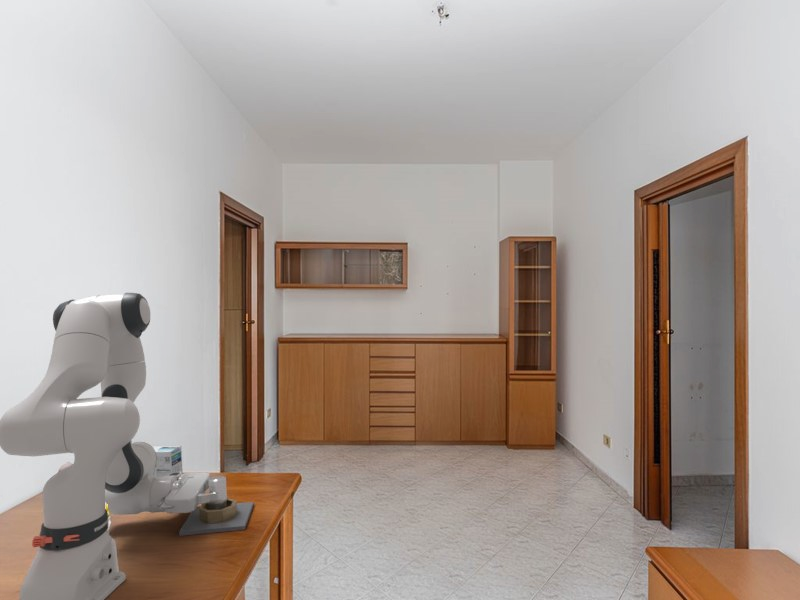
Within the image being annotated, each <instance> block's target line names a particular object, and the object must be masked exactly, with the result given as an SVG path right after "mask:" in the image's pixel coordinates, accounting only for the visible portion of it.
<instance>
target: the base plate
mask: <svg viewBox="0 0 800 600" xmlns="http://www.w3.org/2000/svg"><path fill="white" fill-rule="evenodd" d="M254 506H255V505H254V501H247V502H237V513H236V515H235V517H234V518H232V519H229V520H227V521H224V522H220V523H209V524H207V523H205V522H203V521H200V518H199V508H200V507H201V505H199V506H197V507H196V509H195V510H194V511H192V512H190V514H189V516H188V517H187V519H186V520H185V521H184V523H183V525H182V527H181V528H180V530H179V531H178V535H179V537H180V536H188V535H189V536H190V535H200V534H214V533H224V532H226V533H227V532H233V531H234V532H235V531H245V530H246V528H247V524H248V521H249V519H250V517H251V514H252V511H253V508H254Z"/></svg>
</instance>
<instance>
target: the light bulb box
mask: <svg viewBox="0 0 800 600" xmlns="http://www.w3.org/2000/svg"><path fill="white" fill-rule="evenodd" d="M151 446H152V447H153V449H154V450H155V452H156V457H157V459H156V467H155V472H154V477H163V476H168V475H170V474H172V473H174V472H182V474H184V473H183V457H182V455H183V454H182V452H183V451H182V446H181V445H171V446H169V445H168V446H167V445H163V446H161V445H158V446H155V445H154V446H153V445H151Z"/></svg>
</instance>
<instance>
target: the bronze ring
mask: <svg viewBox="0 0 800 600" xmlns="http://www.w3.org/2000/svg"><path fill="white" fill-rule="evenodd" d="M237 503H238V501H237V500H236V499H233V498H230V497H227V507H226V508H224V509H221V510H210V505H209V502H206V503H203V504H200V506H201V507H200V508H199V518H200V521H203V522H205V523H207V524H209V523H220V522H224V521H227V520H229V519H232V518H234V517H235V515H236V513H237Z"/></svg>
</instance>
